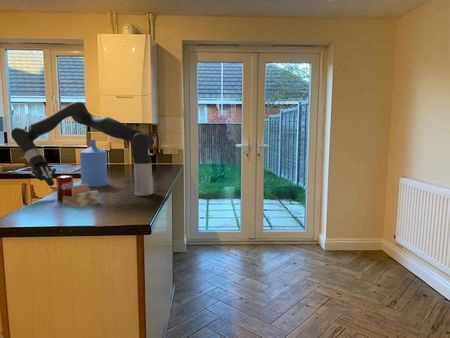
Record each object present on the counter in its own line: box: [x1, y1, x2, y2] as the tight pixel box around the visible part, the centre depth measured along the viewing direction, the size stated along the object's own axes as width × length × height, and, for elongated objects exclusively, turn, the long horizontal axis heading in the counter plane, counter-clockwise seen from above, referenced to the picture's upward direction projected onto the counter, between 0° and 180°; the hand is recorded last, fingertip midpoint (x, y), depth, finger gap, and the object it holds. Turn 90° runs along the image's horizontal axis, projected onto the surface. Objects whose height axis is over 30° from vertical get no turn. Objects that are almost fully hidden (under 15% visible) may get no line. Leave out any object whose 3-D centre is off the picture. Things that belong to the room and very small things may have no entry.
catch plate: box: [72, 184, 90, 198], centre depth 155 cm, size 8×1×9 cm, turn 151°
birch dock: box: [62, 189, 100, 208], centre depth 156 cm, size 11×11×6 cm
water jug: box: [79, 139, 109, 188], centre depth 202 cm, size 16×16×28 cm
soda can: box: [55, 175, 74, 203], centre depth 161 cm, size 7×7×12 cm
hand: (51, 185), depth 165 cm, fingers closed
